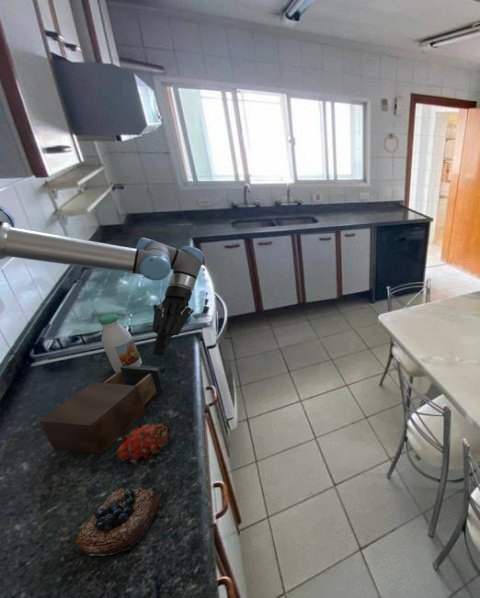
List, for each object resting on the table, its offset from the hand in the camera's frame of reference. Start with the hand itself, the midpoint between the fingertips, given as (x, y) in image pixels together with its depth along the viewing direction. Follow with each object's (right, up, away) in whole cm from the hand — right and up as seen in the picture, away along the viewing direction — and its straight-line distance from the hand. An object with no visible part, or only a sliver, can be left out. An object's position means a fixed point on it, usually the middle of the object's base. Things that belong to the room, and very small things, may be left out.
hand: (157, 354), depth 107 cm
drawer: (-1, -12, -7) cm, 14 cm away
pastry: (+22, -29, -39) cm, 53 cm away
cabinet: (-2, -17, -18) cm, 25 cm away
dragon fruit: (+15, -21, -24) cm, 35 cm away
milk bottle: (-14, -5, +6) cm, 17 cm away
